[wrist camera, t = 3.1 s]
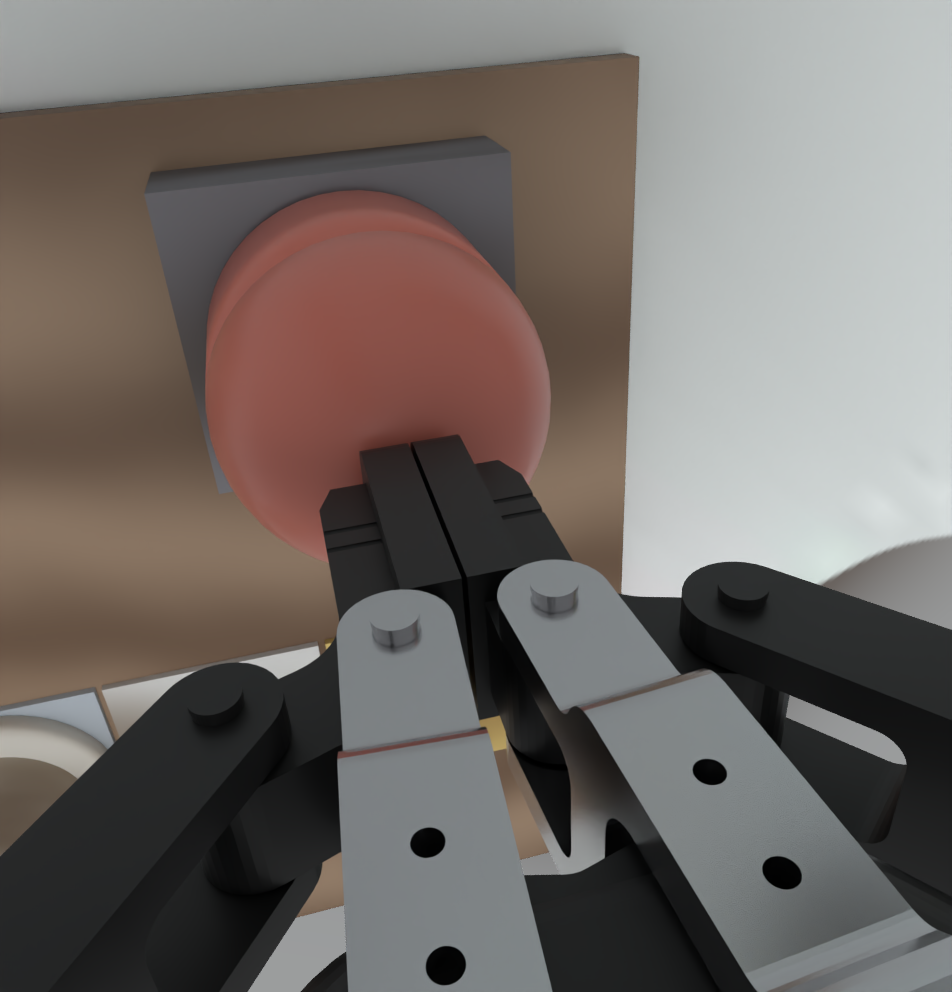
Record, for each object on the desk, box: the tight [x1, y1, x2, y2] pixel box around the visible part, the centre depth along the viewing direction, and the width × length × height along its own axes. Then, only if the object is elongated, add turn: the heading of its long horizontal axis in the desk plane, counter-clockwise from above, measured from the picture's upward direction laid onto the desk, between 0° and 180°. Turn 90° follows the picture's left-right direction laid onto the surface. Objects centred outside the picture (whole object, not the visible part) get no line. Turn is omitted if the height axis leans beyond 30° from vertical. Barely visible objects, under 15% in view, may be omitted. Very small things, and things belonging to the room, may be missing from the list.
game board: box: [0, 53, 639, 918], centre depth 24 cm, size 26×22×3 cm
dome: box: [205, 190, 551, 563], centre depth 16 cm, size 6×6×6 cm
